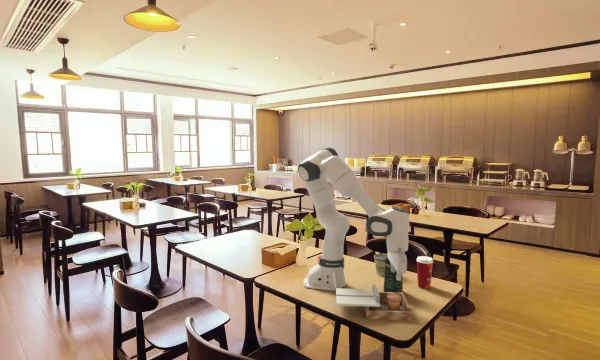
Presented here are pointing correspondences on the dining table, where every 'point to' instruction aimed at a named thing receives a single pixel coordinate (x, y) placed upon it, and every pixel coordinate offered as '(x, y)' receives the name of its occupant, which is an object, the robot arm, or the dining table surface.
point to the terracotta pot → (393, 302)
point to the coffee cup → (424, 271)
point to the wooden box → (383, 310)
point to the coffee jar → (391, 279)
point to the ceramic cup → (380, 263)
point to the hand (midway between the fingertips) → (395, 275)
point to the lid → (358, 297)
